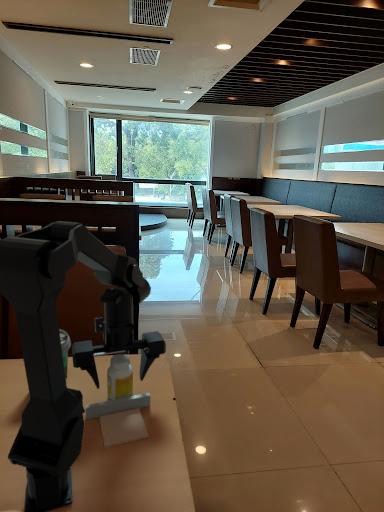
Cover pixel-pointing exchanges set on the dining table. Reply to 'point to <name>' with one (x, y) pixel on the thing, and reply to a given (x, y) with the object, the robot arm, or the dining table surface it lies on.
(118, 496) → the dining table surface
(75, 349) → the robot arm
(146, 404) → the low wall
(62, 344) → the food container
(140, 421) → the mat
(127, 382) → the supplement bottle
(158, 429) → the dining table surface
